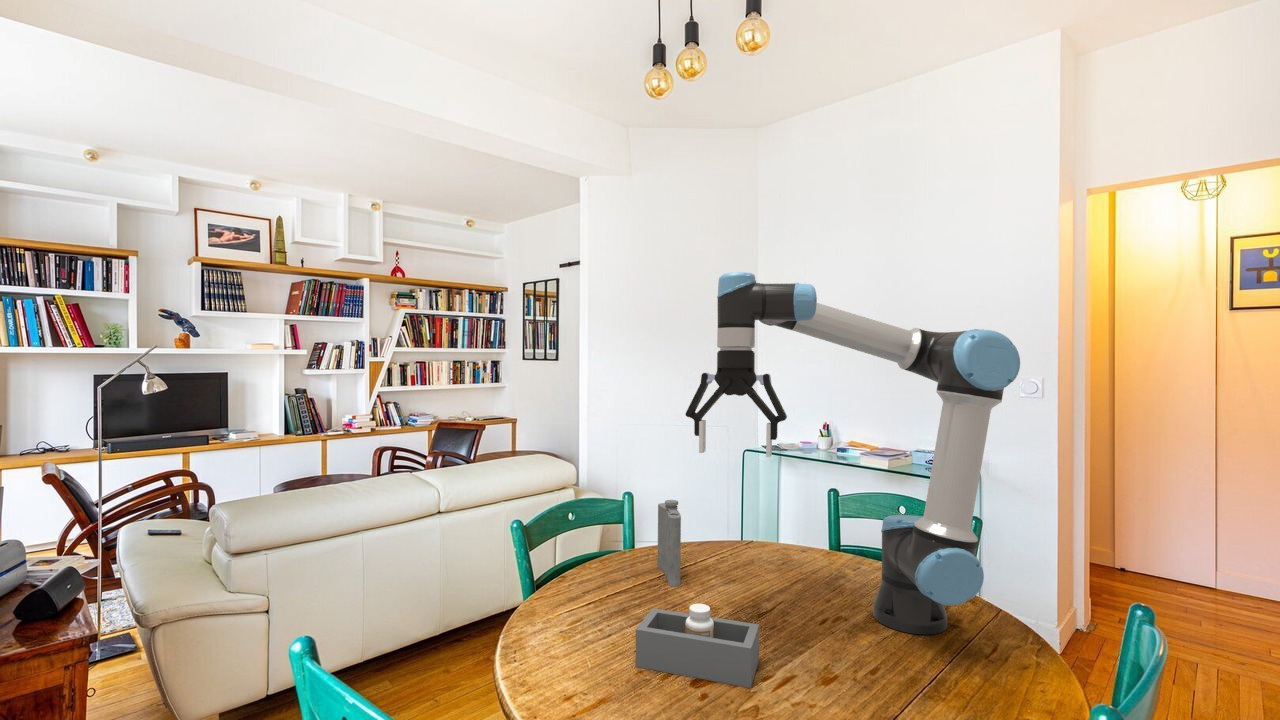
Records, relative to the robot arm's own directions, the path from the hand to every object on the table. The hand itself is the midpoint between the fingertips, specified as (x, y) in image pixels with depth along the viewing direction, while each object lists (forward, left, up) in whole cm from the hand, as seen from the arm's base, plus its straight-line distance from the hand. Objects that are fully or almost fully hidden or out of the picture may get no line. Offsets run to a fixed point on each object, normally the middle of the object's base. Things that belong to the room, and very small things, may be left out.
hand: (735, 454), depth 122 cm
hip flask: (+23, -33, -39) cm, 56 cm away
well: (+5, +10, -39) cm, 40 cm away
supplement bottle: (+5, +10, -38) cm, 39 cm away
